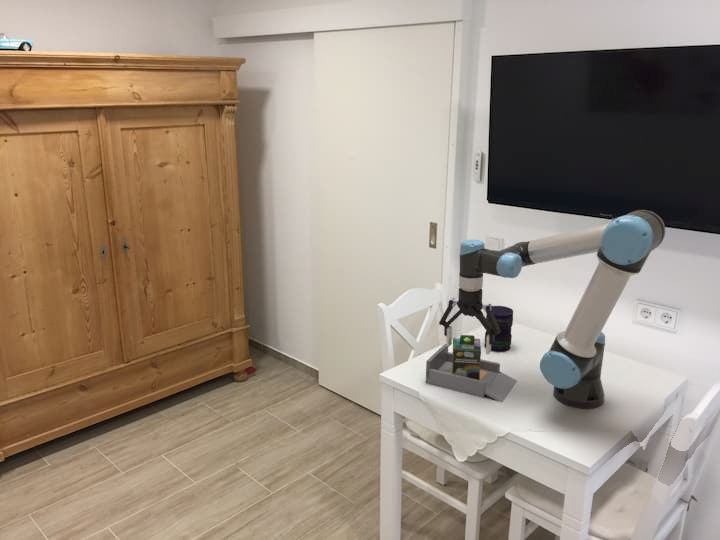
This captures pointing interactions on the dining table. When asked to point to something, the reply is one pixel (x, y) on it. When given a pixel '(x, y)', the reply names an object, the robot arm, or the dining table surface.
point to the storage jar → (502, 328)
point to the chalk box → (466, 356)
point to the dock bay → (488, 384)
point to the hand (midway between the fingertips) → (468, 349)
